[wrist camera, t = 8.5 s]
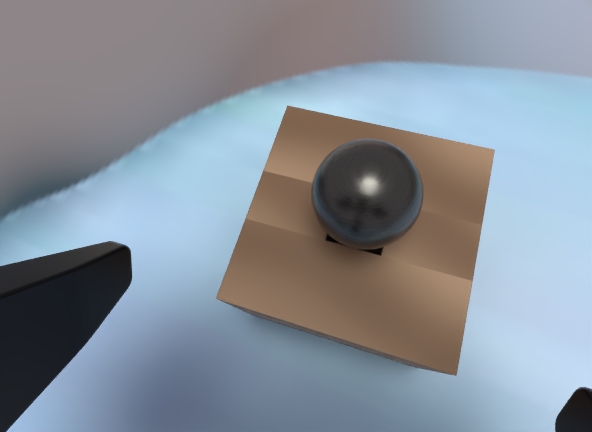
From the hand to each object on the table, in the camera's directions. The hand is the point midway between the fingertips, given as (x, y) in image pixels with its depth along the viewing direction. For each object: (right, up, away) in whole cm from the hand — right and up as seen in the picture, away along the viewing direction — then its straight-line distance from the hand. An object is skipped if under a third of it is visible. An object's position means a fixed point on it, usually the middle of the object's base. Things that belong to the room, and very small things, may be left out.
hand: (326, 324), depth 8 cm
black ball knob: (+2, 0, +11) cm, 11 cm away
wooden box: (+2, 0, +12) cm, 12 cm away
